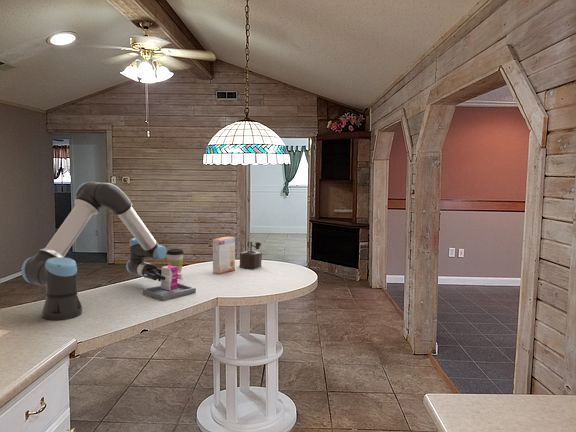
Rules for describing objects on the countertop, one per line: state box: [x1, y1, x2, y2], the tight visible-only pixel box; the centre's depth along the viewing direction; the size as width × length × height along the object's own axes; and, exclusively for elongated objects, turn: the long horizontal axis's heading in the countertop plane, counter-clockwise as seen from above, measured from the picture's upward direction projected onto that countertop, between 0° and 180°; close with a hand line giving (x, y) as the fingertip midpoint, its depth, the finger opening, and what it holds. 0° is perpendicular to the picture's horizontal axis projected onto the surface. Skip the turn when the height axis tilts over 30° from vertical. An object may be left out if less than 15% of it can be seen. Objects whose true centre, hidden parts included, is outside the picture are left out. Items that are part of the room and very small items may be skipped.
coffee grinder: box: [239, 240, 263, 270], centre depth 290 cm, size 16×11×18 cm
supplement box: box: [160, 264, 178, 291], centre depth 226 cm, size 6×6×12 cm
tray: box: [142, 282, 197, 302], centre depth 227 cm, size 20×16×2 cm
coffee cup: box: [166, 248, 185, 274], centre depth 263 cm, size 10×10×15 cm
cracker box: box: [212, 235, 236, 275], centre depth 276 cm, size 14×6×21 cm, turn 144°
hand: (175, 278), depth 223 cm, fingers closed on supplement box, 6 cm apart
